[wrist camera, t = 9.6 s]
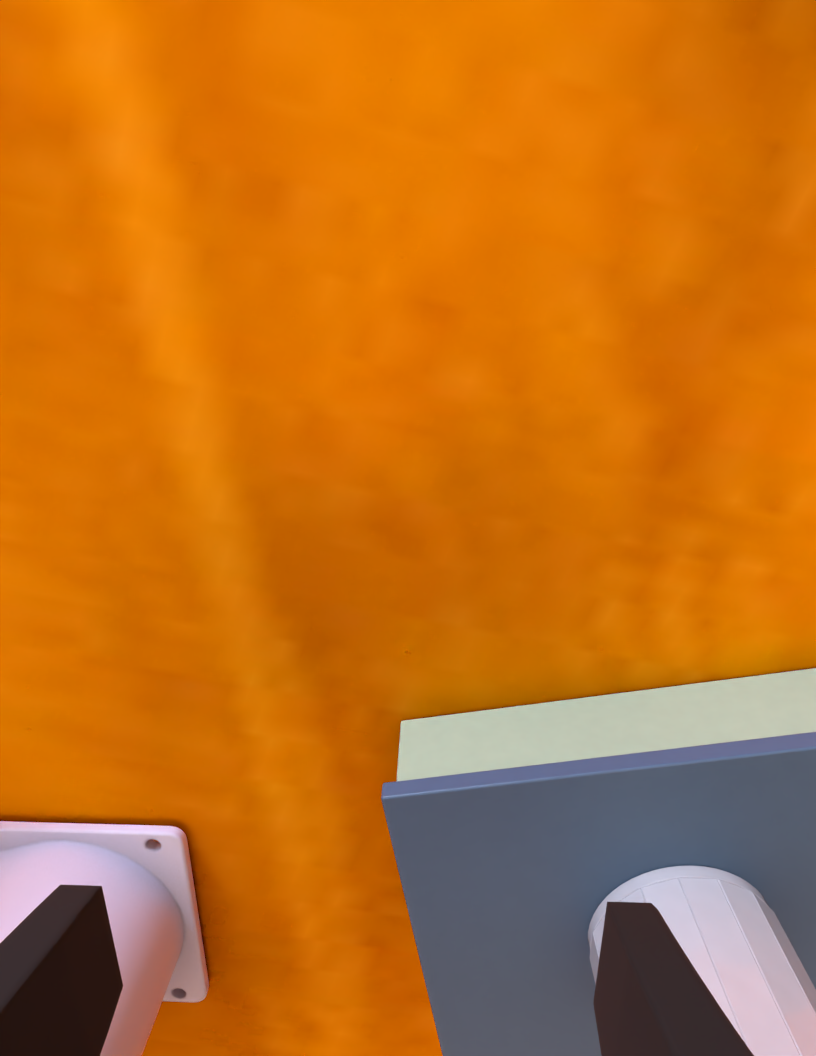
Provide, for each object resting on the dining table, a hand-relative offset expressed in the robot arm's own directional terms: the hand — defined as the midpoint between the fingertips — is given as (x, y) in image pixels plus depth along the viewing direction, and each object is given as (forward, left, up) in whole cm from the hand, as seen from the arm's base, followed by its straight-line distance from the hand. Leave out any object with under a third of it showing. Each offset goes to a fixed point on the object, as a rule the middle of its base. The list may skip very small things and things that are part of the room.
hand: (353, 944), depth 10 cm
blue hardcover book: (+8, -8, -10) cm, 15 cm away
